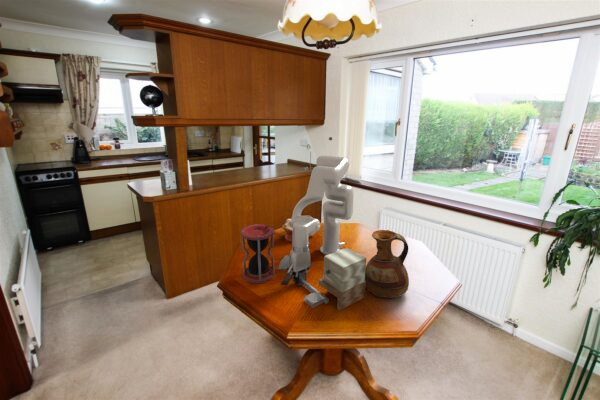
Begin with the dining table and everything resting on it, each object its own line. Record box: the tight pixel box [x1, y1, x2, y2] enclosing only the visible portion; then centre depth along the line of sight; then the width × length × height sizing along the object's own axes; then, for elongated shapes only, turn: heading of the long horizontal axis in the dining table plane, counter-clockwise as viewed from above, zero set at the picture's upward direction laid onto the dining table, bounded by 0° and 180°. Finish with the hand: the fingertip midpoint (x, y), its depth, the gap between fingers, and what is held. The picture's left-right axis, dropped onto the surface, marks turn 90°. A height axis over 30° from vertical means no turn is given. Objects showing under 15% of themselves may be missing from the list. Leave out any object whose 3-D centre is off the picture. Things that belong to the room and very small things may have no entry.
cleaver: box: [278, 254, 294, 285], centre depth 155 cm, size 29×10×2 cm, turn 174°
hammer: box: [295, 269, 329, 305], centre depth 134 cm, size 4×22×7 cm, turn 37°
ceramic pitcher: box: [365, 229, 410, 299], centre depth 133 cm, size 20×20×30 cm
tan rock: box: [282, 215, 315, 243], centre depth 192 cm, size 14×26×15 cm, turn 133°
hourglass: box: [240, 223, 276, 284], centre depth 146 cm, size 16×16×25 cm
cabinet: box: [318, 247, 367, 311], centre depth 130 cm, size 16×14×20 cm
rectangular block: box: [303, 292, 324, 308], centre depth 129 cm, size 6×6×2 cm
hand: (300, 280), depth 142 cm, fingers closed on hammer, 4 cm apart
